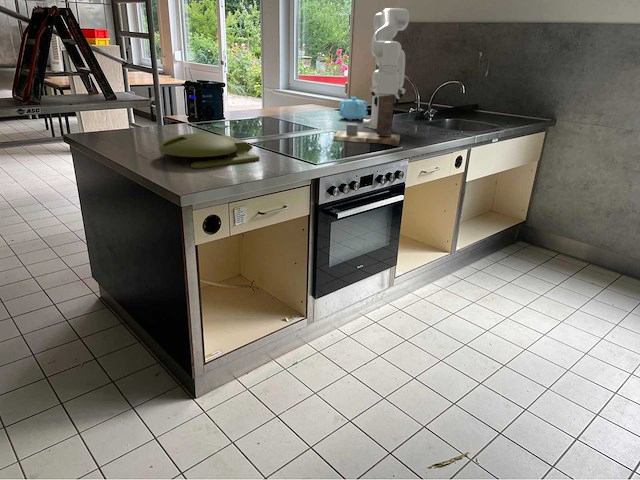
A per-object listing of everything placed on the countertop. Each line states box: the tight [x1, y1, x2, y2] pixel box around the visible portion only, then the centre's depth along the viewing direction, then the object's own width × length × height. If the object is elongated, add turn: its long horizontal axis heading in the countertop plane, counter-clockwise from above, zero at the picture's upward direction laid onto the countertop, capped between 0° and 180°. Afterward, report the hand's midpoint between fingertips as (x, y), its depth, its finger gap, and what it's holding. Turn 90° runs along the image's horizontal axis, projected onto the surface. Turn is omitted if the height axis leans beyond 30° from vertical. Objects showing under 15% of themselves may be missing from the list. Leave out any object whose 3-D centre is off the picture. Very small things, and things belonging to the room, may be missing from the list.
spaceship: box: [158, 132, 261, 170], centre depth 194 cm, size 35×31×10 cm
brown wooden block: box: [376, 95, 395, 137], centre depth 238 cm, size 8×7×20 cm
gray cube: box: [345, 122, 359, 136], centre depth 243 cm, size 5×5×5 cm
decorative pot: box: [337, 96, 369, 121], centre depth 302 cm, size 20×20×14 cm
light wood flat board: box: [333, 130, 401, 146], centre depth 244 cm, size 32×16×2 cm, turn 80°
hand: (386, 106), depth 236 cm, fingers open, 9 cm apart
